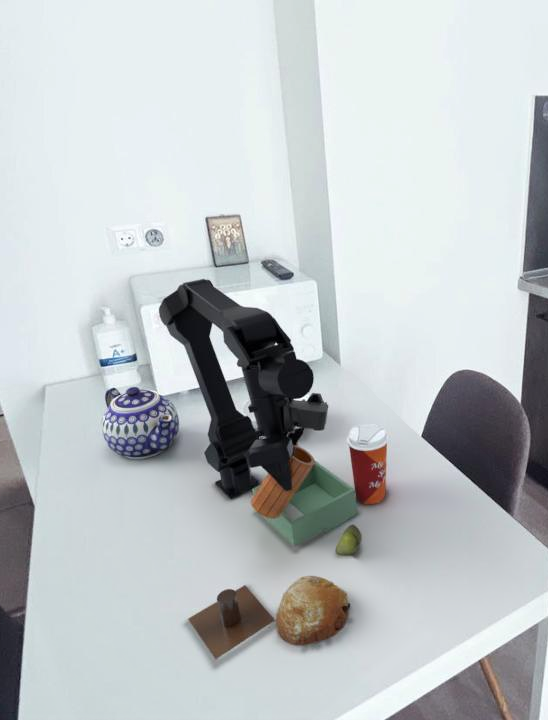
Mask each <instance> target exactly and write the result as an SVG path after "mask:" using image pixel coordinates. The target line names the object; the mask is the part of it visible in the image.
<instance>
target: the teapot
mask: <svg viewBox="0 0 548 720" xmlns="http://www.w3.org/2000/svg"><path fill="white" fill-rule="evenodd" d="M104 395H105V396H104V400H105V405H106V407H107V408H106V409H105V411H104V413H103V415H102V418H101V432H102V437H103V440H104V441H105V443H106V445H107V446H108V448H109V449H110V450H111V451H112V452H114V453H116V454H118V455H120V456H123V457H125V458H127V459H131V460H142V459H148V458H151V457H154V456H157V455H159V454H161V453H162V452H165V451H167V450H168V449H169V448H170V447H171V445H172V443H173V442H174V440H175V439H176V438H177V436H178V434H179V430H180V417H179V414H178V411H177V409H176V407H175V404H174V403H173V402H172V401H171V400H170V399H169V398H167V397H166V396H163V395H161V394H159V393H158V391H156V390H154V389H140V388H139V387H137V386H132V387H129V388H127V389H126V391H125V392H124V393H121V392H120V391H119V390H118V389H117V388H116V387H110V388H108V389H106V391H105V394H104Z"/></svg>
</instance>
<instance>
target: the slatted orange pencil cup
mask: <svg viewBox="0 0 548 720" xmlns="http://www.w3.org/2000/svg"><path fill="white" fill-rule="evenodd" d="M293 448H296V450H295V453H294V455H293V456H292V457H291V459H290V467H291V477H292V490H290V491H285V490H284V489H283V488H282V487H281V486H280V485H279V484H278V483H277V482H276V481H275V479H274V478H273V477H272V476H271V475H270V474H269V473H268V472H267V474H266V475H265V478H264V479H263V480H262V482H261V484H259V485H260V487H259V488H258V490H257V491H256V493H255V494H254V496H252V497H251V499H250V505H251V507H252V508H253V510H254V511H255V512H256V513H258V514H259V515H261V516H262V517H263V516H264V517H265V516H266V517H267V518H271V519H275V518H278V517H279V516H280V515H281V513H282V512H283V513H284V510H285V509H286V508H287V506H288V504H289V503H290V502H289V501H290V500H291V499H292V497H293V496H294V494H295V493H296V491H297V490H298V488H299V487H300V485H301V484H302V482H303V481H304V479H305V478H306V476H307V475H308V473H309V472H310V470H311V469H312V467H313V466H314V464H315V461H316V460H315V458H314V456H313V455H312V454H311V453H310V452H309V451H307V449H304V448H303V447H301V446H299V445H298V446H296V445H293ZM264 517H263V518H264Z"/></svg>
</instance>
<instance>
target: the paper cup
mask: <svg viewBox="0 0 548 720" xmlns="http://www.w3.org/2000/svg"><path fill="white" fill-rule="evenodd" d="M389 439H390V436H389V435H388V433H387V431H386V429H385V428H384V427H382V426H381V425H379V424H375V423H363V424H359V425H355V426H354V427H352V428H351V429H350V430H349V433H348V435H347V437H346V443H347V445H348V448H349V456H350V462H351V471H352V479H353V486H354V489H355V495H356V501H358V502H360V503H361V504H364V505H376V504H379V503H381V502H382V501H383V500H384V498H385V496H386V488H387V487H386V485H387V455H388V450H387V449H388V443H389Z"/></svg>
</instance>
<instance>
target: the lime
mask: <svg viewBox="0 0 548 720" xmlns="http://www.w3.org/2000/svg"><path fill="white" fill-rule="evenodd" d="M362 536H363V535H362V533H361V531H360V528H358V526H357V525H355V524H353V523H352V524H350V525H349V526H347V527H346V529H345V530H344V532H343V533H342V535H341V537H340V539H339V541H338V543H337V545H336V548H335V552H336V554H338V555H341V556H350V555H352V554H356V552H357V551H358V550H359V548H360V546H361V544H362V538H363V537H362Z"/></svg>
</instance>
